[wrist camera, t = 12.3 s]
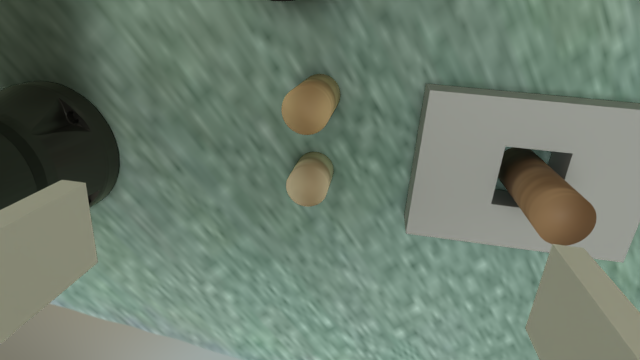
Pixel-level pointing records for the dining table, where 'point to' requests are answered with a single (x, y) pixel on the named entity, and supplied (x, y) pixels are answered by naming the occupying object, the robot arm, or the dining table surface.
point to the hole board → (530, 133)
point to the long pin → (546, 198)
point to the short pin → (310, 179)
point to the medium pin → (311, 104)
